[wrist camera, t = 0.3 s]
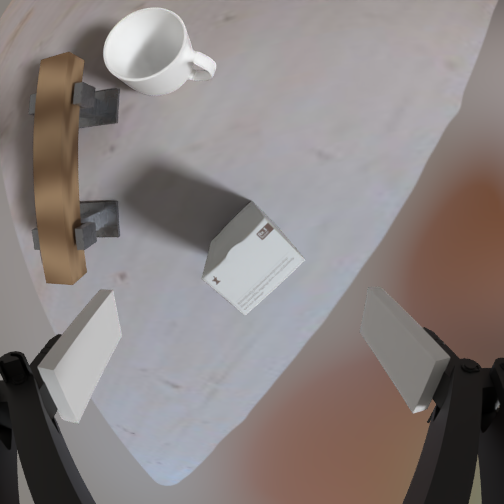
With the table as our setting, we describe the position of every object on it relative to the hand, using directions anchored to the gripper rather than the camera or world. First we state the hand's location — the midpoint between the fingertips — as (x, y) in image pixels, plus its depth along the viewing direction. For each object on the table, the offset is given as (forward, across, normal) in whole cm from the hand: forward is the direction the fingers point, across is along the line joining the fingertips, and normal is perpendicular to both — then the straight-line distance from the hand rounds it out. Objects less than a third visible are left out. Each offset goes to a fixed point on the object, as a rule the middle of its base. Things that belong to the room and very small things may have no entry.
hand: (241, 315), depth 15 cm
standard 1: (+27, -20, +16) cm, 37 cm away
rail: (+19, -20, +8) cm, 29 cm away
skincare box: (+27, +2, -3) cm, 28 cm away
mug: (+28, -8, +19) cm, 35 cm away
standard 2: (+27, -20, 0) cm, 34 cm away
